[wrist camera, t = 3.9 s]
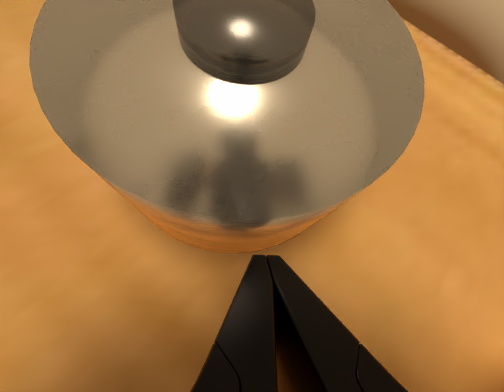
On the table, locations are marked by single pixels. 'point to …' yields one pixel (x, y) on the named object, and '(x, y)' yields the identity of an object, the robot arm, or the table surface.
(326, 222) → the table surface
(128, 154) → the cover
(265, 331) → the robot arm
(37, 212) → the table surface
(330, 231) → the table surface
